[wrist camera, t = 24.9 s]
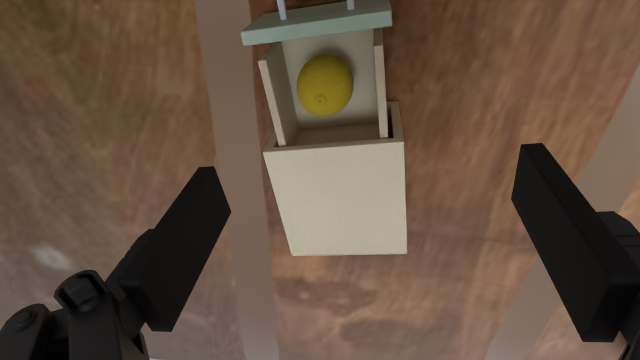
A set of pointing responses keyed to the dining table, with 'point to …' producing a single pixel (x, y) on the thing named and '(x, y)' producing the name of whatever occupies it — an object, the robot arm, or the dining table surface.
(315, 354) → the dining table surface
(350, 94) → the lemon
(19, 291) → the dining table surface
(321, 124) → the drawer
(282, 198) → the cabinet
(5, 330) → the robot arm
